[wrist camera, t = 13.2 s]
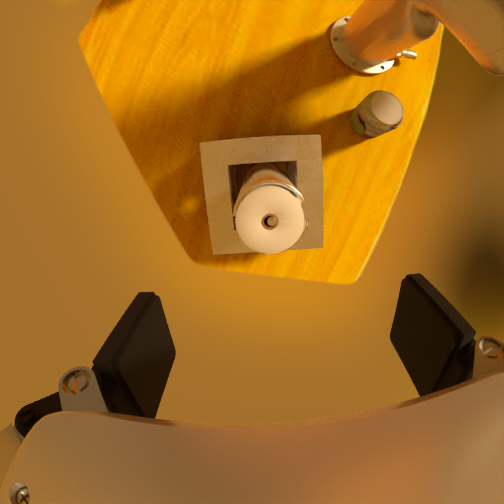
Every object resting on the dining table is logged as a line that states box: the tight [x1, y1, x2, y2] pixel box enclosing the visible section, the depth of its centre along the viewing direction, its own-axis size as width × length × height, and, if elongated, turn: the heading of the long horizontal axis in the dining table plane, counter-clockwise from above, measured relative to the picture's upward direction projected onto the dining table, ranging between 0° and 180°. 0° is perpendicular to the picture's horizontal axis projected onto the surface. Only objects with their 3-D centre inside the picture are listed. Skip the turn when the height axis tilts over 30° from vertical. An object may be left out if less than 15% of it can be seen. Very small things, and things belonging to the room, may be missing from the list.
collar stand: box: [199, 135, 323, 255], centre depth 39 cm, size 15×15×12 cm
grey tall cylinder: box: [233, 163, 309, 254], centre depth 33 cm, size 6×6×25 cm
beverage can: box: [350, 90, 403, 139], centre depth 34 cm, size 6×7×12 cm
